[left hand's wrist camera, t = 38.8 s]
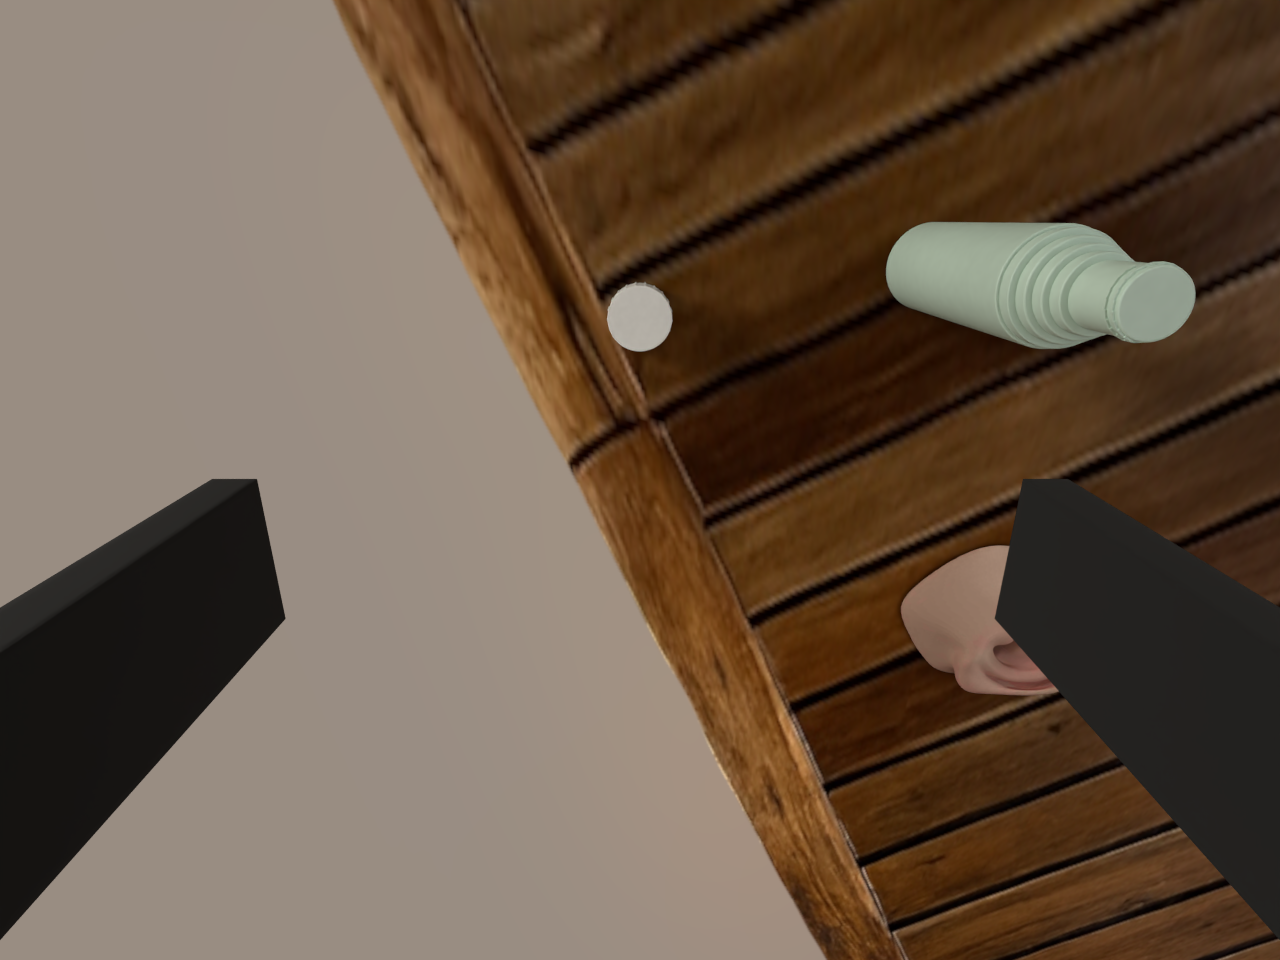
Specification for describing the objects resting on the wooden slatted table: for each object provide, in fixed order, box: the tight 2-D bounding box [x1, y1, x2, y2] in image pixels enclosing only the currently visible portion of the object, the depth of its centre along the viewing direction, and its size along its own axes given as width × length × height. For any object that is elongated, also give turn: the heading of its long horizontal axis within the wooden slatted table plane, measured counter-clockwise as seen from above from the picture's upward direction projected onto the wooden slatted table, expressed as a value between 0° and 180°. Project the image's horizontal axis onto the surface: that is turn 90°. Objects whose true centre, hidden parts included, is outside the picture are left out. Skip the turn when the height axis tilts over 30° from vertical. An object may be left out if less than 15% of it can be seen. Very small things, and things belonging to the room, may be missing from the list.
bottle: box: [886, 222, 1195, 349], centre depth 33 cm, size 5×5×20 cm
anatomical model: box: [901, 545, 1058, 695], centre depth 48 cm, size 13×4×12 cm
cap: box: [607, 282, 673, 351], centre depth 42 cm, size 4×4×2 cm
